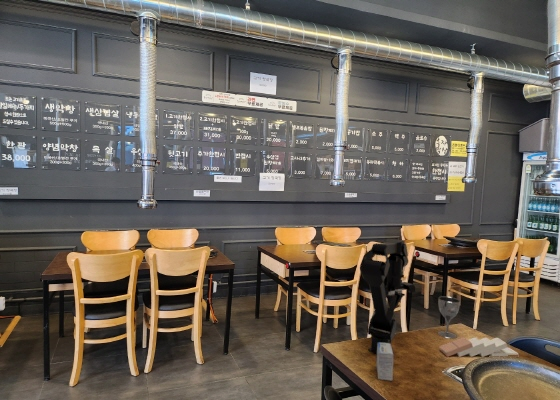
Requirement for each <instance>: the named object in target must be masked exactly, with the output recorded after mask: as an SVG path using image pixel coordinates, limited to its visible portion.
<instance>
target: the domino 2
mask: <svg viewBox="0 0 560 400" xmlns="http://www.w3.org/2000/svg"><path fill="white" fill-rule="evenodd" d="M467 340H468V341H470V342H471V343H472V346H473V347H472V348H469V349H466V350H464V351H461V352H459V353H456V354H455V355H456V356H458V357H459V358H460V357H463V356H466V355H468V353H471V352H473V351H476V350H478V349H481V348H484V347H485V346H484V343H483V342H481V341H480V339H479V338H478V337H476V336H475V337H472V338H469V339H467Z"/></svg>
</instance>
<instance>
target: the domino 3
mask: <svg viewBox="0 0 560 400" xmlns="http://www.w3.org/2000/svg"><path fill="white" fill-rule="evenodd" d="M479 340H480V341H481V342H483V343H484V346H485V347H484V348H481V349H478V350H476V351H473V352H471V353H468V354H467V355H468V356H469V357H470V358H472V357H475V356H476V355H479V354H480V353H482V352H485V351H487V350H490V349H492V348H495V347H496V345H495V343H494V342H493V341H491V340H492V339H490V338H488V337H487V336H485V337H483V338H480V339H479Z"/></svg>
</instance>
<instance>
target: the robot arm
mask: <svg viewBox="0 0 560 400" xmlns="http://www.w3.org/2000/svg"><path fill="white" fill-rule="evenodd" d="M375 256H381V257H385V261H381V260H377V259H376V260H374V259H373V258H374V257H375ZM408 256H409V253H408V248H407V243H405V240H404V239H395V238H387V239H386V240H385V242H381V243H373V244H372V246H371V249H370V250H368V251H367V252H366V253H364V254H363V257H362V259H361V262H360V265H359V271H360V272H361V276H362V279H363V280H364V281H365V282H366V283H367V284H368V285H369V291H370V294H371V301H372V305H373V309H374V311H373V313H372V315H371V318H370V319H369V324H368V328H367V334H368V335H370V336H371V346H370V348H368V349H367V350H368V351H369V352H371V353H372V354H373V355H376V356H377V343H378V342H381V343H389V344H391V345H392V341H393V340H394V338H395V337H396V331H397V320H396V316H395V310H396V308H397V306H399V305H398V304H399V303H400V301H401V300H402V298H403V297H404V296H406V294H405V293H403V291H405V290H406V291H408V293H415V292H416V286H415V285H414V284H413V283H410V282H407V281H403V282H402V278H403V279H404V278H405V275H404V274H402V273H403V268H406V266H407V265H408V264H409V258H408Z"/></svg>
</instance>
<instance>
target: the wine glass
mask: <svg viewBox="0 0 560 400" xmlns="http://www.w3.org/2000/svg"><path fill="white" fill-rule="evenodd" d="M460 304H461V301H460V299H458V298H455V297H452V296H444V295H443V296H442V295H441V296H439V297H438V310H439V312H440V314H441V315H442V316H443V318H444V320H445V323H446V330H445V331H442V330H440V331H438V332H437V334H438V335H439V336H440V337H442V338H446V339H456V338H457V335H456V334H455V333H453V332H451V331H449V329H450V328H449V326H450V322H451V320H452V319H454V318H455V317H456V316H457V315H458V313H459V310H460Z"/></svg>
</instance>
